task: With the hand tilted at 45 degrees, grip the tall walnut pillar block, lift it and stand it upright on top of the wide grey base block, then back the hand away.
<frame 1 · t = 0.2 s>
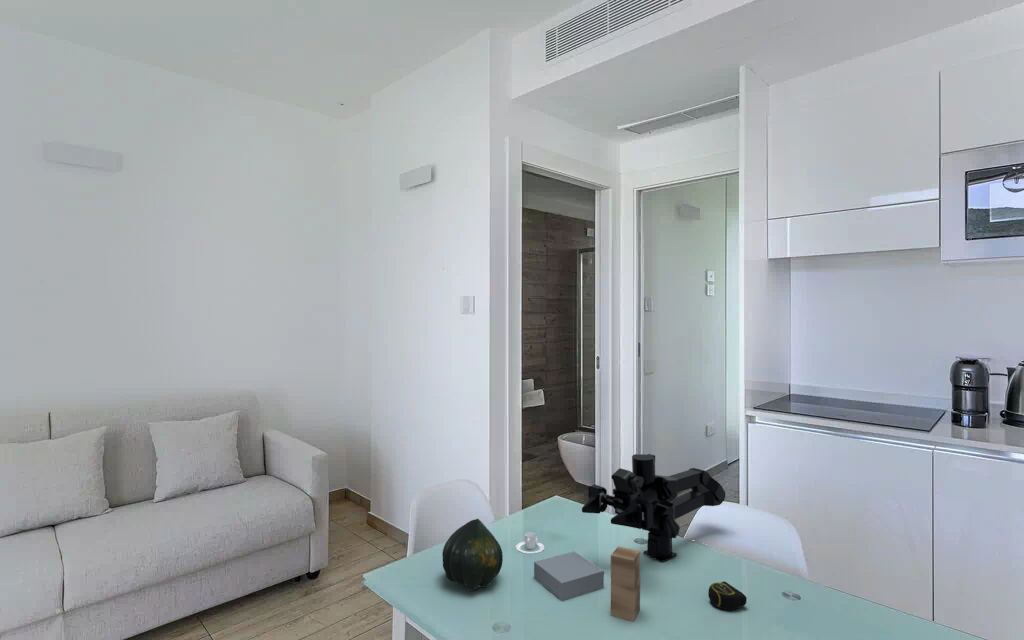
hand: (596, 515, 127), 17 cm above the table, fingers open, 9 cm apart
tape measure: (726, 604, 120), on the table
teacup and saucer: (540, 548, 149), on the table
walnut pillar: (625, 612, 116), on the table
grey base block: (568, 582, 129), on the table
squash: (471, 581, 130), on the table
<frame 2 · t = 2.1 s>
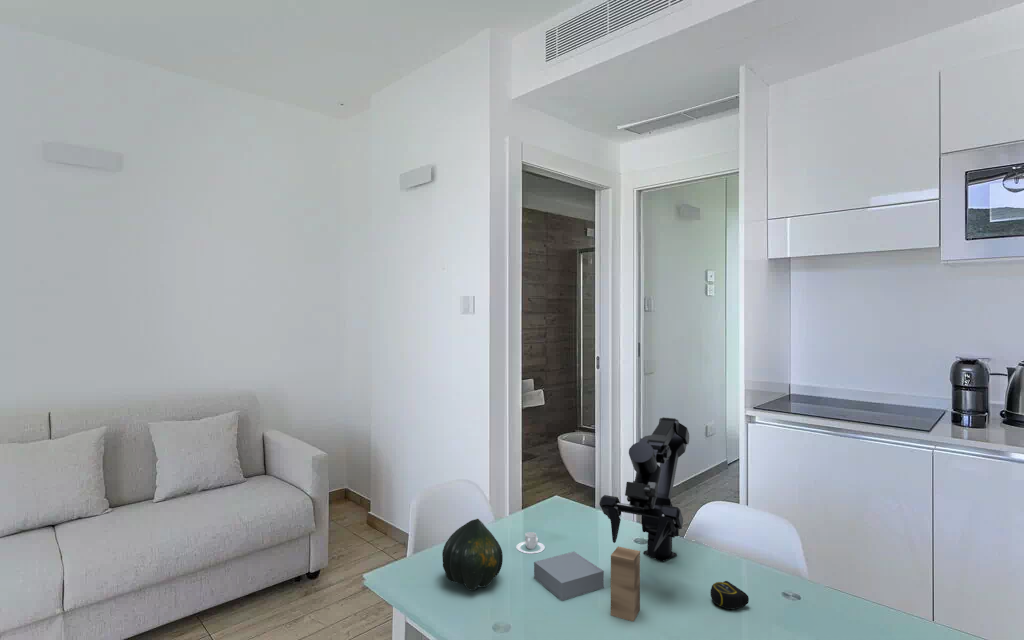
hand: (633, 546, 121), 12 cm above the table, fingers open, 9 cm apart
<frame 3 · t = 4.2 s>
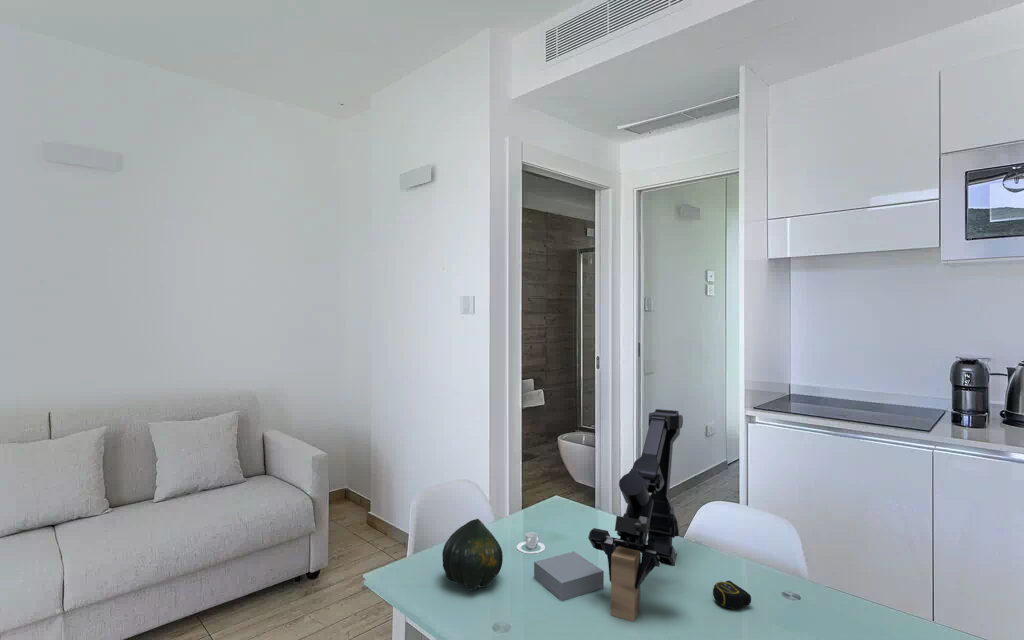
hand: (623, 585, 114), 7 cm above the table, fingers closed on walnut pillar, 5 cm apart
walnut pillar: (625, 612, 116), on the table, touching gripper
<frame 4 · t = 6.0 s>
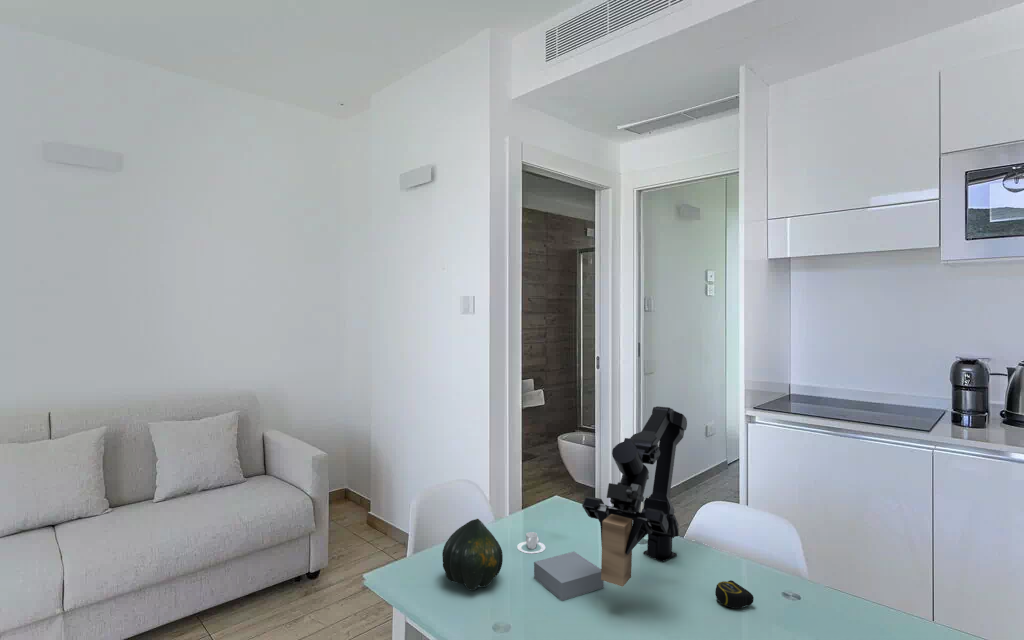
hand: (614, 550, 116), 13 cm above the table, fingers closed on walnut pillar, 5 cm apart
walnut pillar: (616, 578, 117), point 7 cm above the table, touching gripper
when the fingers open (12 cm above the table, at t = 8.0 s): walnut pillar drops 1 cm, resting on grey base block.
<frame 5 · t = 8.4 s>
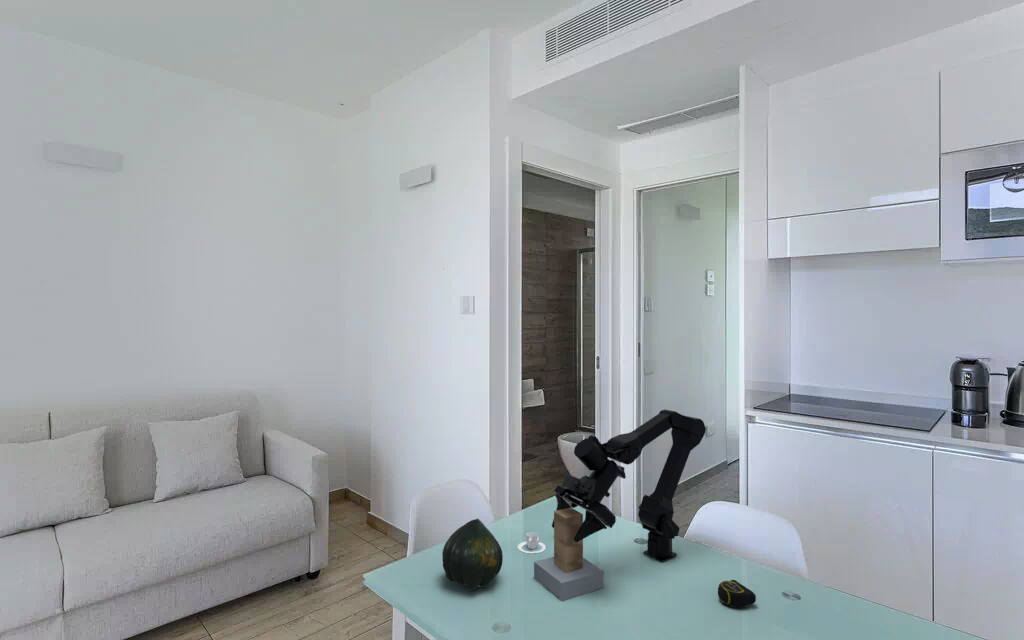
hand: (563, 534, 128), 12 cm above the table, fingers open, 9 cm apart
walnut pillar: (568, 566, 128), point 4 cm above the table, touching grey base block
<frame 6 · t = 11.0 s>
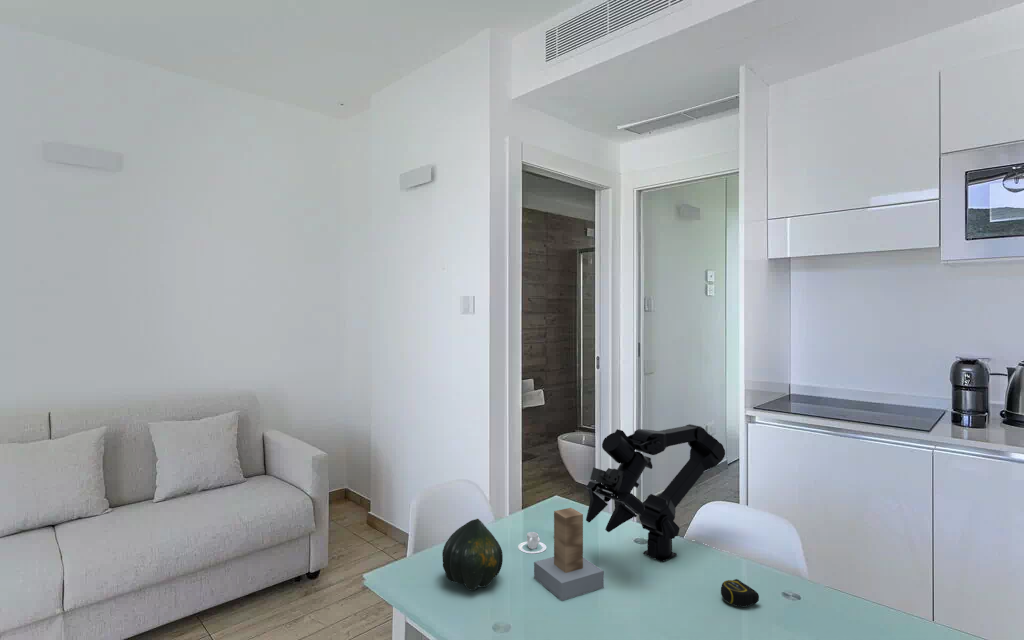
hand: (596, 526, 133), 12 cm above the table, fingers open, 9 cm apart
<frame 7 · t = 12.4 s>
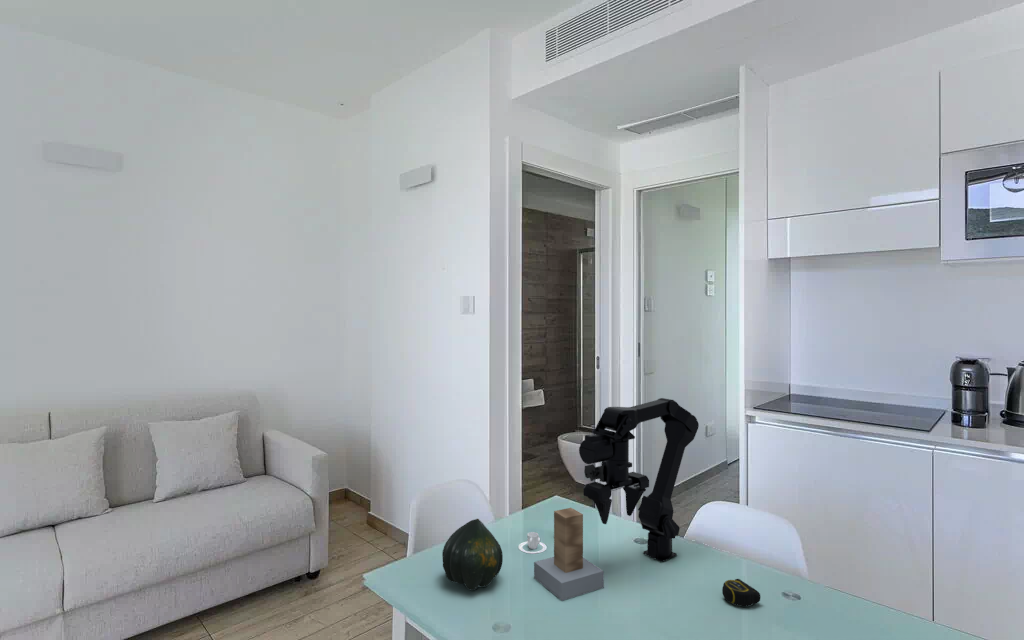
hand: (616, 519, 135), 13 cm above the table, fingers open, 9 cm apart
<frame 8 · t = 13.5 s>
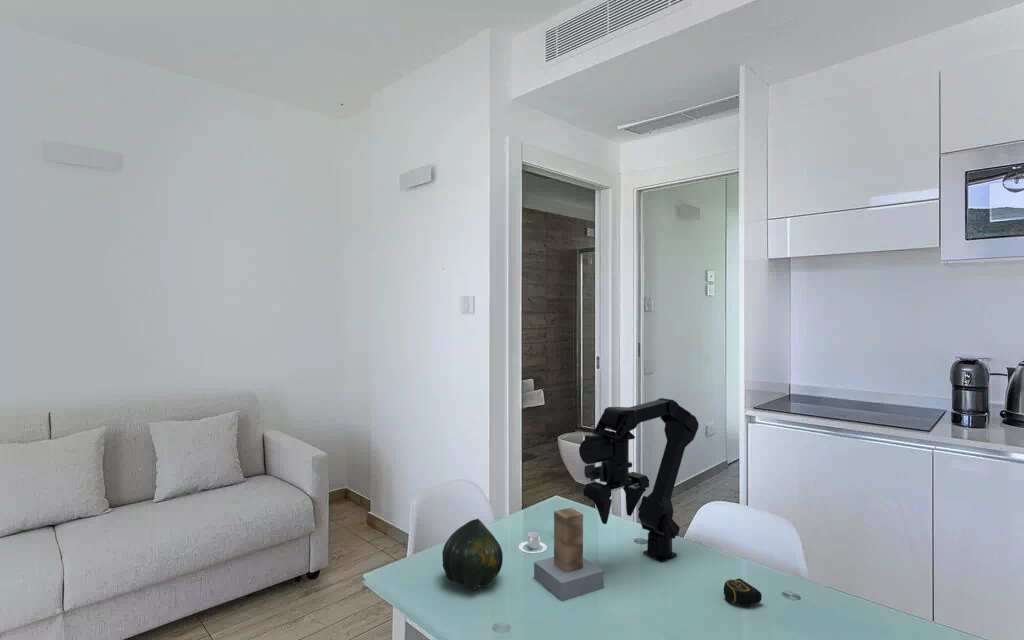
hand: (616, 519, 135), 13 cm above the table, fingers open, 9 cm apart
at the end: walnut pillar inside the target area on the grey base block (0.0 cm from its centre), point 4.0 cm above the grey base block's base; walnut pillar tilted 0°; the gripper is holding nothing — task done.
